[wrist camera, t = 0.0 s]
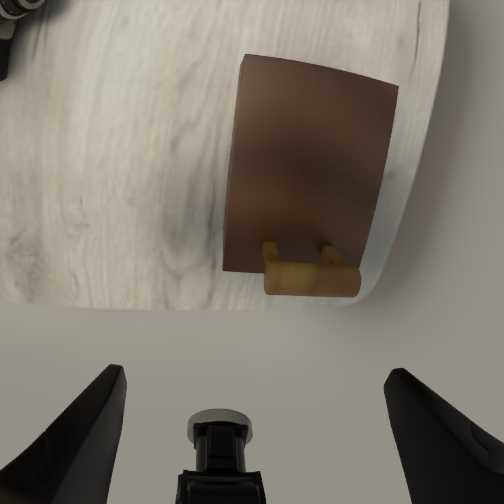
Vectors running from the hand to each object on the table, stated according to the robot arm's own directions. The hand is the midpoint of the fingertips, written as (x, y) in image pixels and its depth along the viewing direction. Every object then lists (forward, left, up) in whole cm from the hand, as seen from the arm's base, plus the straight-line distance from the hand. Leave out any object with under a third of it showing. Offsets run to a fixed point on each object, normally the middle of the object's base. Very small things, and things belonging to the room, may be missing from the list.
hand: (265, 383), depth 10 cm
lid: (+4, -3, -10) cm, 12 cm away
